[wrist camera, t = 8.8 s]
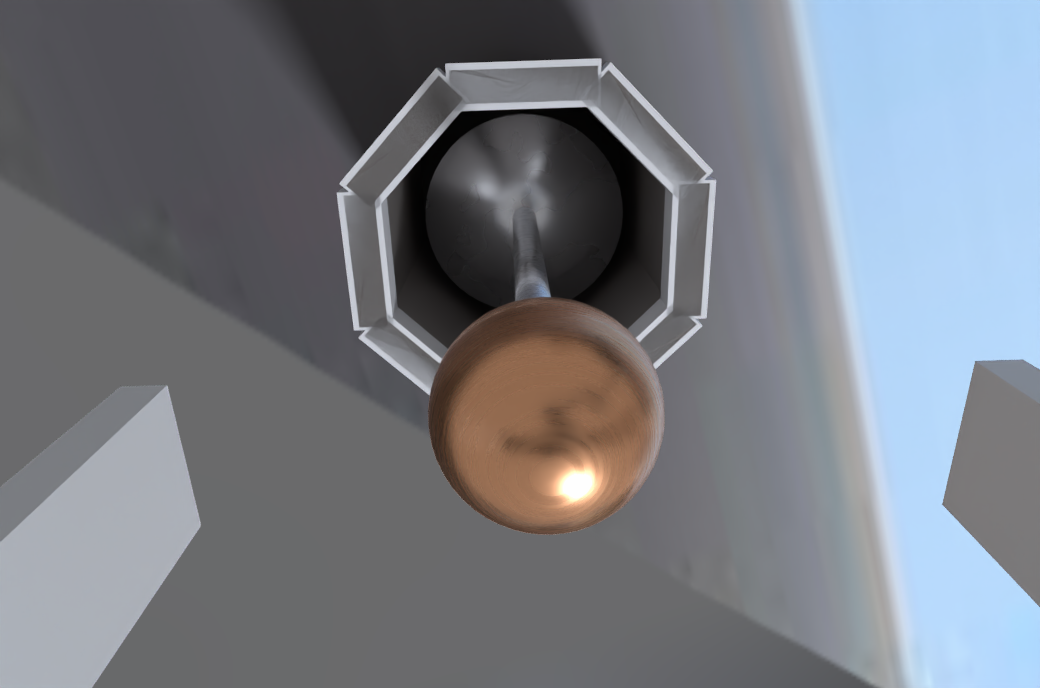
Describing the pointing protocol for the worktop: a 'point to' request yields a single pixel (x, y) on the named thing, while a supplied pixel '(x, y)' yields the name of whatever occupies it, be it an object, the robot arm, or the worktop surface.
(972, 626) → the worktop surface
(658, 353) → the grey octagonal tube
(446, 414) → the copper ball knob
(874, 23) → the worktop surface
